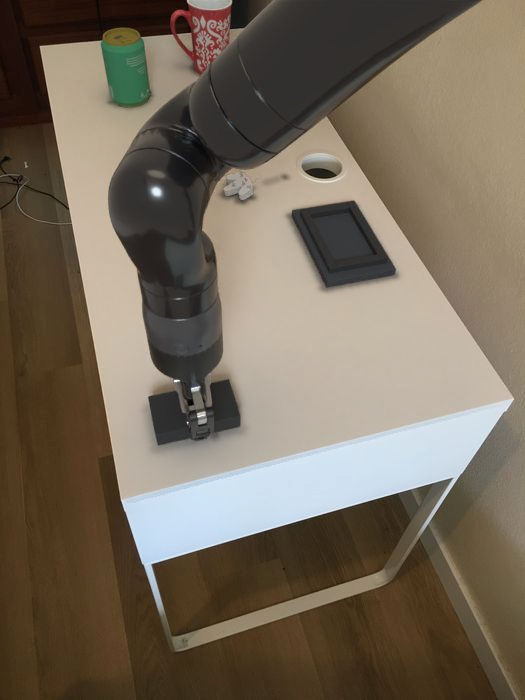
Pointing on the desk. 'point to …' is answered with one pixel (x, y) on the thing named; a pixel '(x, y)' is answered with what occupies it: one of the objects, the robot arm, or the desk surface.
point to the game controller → (239, 185)
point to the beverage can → (125, 66)
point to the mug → (205, 30)
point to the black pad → (173, 420)
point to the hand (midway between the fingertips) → (194, 414)
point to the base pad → (342, 243)
